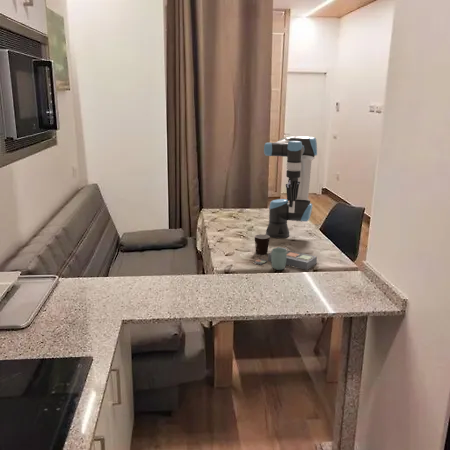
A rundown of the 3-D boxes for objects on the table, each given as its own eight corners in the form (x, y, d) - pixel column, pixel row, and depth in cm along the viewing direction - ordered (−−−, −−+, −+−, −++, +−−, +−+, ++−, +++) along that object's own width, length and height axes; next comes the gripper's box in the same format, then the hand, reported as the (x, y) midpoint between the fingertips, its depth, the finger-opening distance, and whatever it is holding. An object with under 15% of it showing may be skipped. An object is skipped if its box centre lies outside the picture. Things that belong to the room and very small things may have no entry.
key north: (302, 261, 242) (302, 254, 241) (312, 263, 239) (312, 256, 238) (297, 264, 237) (297, 257, 236) (307, 266, 234) (308, 259, 233)
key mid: (289, 258, 246) (290, 251, 245) (299, 260, 243) (299, 253, 242) (284, 261, 241) (285, 254, 240) (294, 263, 238) (294, 256, 237)
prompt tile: (259, 259, 245) (259, 258, 245) (267, 261, 242) (267, 260, 242) (253, 263, 240) (253, 261, 240) (261, 265, 237) (261, 263, 237)
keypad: (278, 255, 253) (278, 248, 252) (316, 263, 241) (316, 256, 240) (268, 260, 244) (268, 253, 243) (306, 269, 231) (307, 262, 230)
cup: (275, 264, 238) (276, 247, 235) (288, 268, 234) (289, 249, 231) (268, 269, 232) (268, 250, 229) (281, 272, 228) (282, 253, 225)
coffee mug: (268, 256, 251) (268, 239, 249) (253, 255, 253) (253, 238, 250) (270, 249, 262) (271, 233, 260) (255, 248, 264) (256, 232, 261)
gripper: (292, 168, 250) (290, 209, 256) (281, 170, 240) (279, 213, 246) (305, 169, 246) (302, 211, 252) (294, 172, 236) (292, 215, 242)
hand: (291, 212), depth 249 cm, fingers closed
